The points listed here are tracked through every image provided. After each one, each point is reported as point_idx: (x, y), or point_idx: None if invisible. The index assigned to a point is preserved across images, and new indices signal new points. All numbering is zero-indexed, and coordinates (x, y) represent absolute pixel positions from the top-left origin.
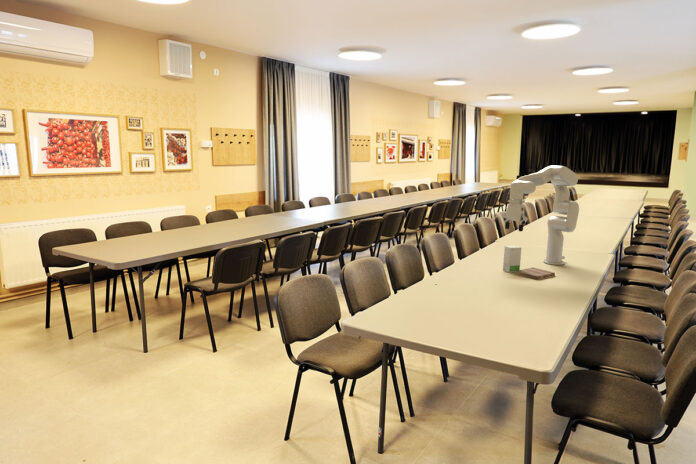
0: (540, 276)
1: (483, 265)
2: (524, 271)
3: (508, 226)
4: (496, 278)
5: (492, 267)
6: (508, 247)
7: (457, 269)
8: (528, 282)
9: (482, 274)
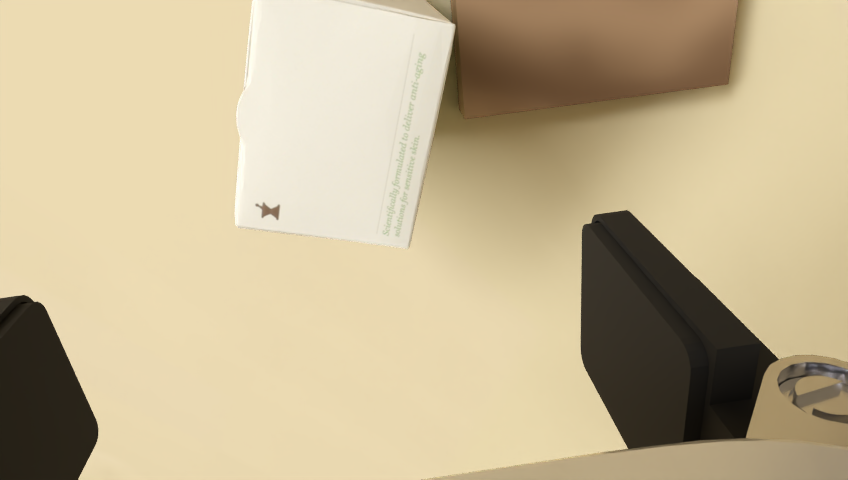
0: (730, 32)
1: (14, 151)
2: (528, 44)
3: (21, 400)
4: (483, 351)
5: (131, 122)
6: (352, 241)
7: (120, 448)
8: (701, 212)
9: (337, 372)
